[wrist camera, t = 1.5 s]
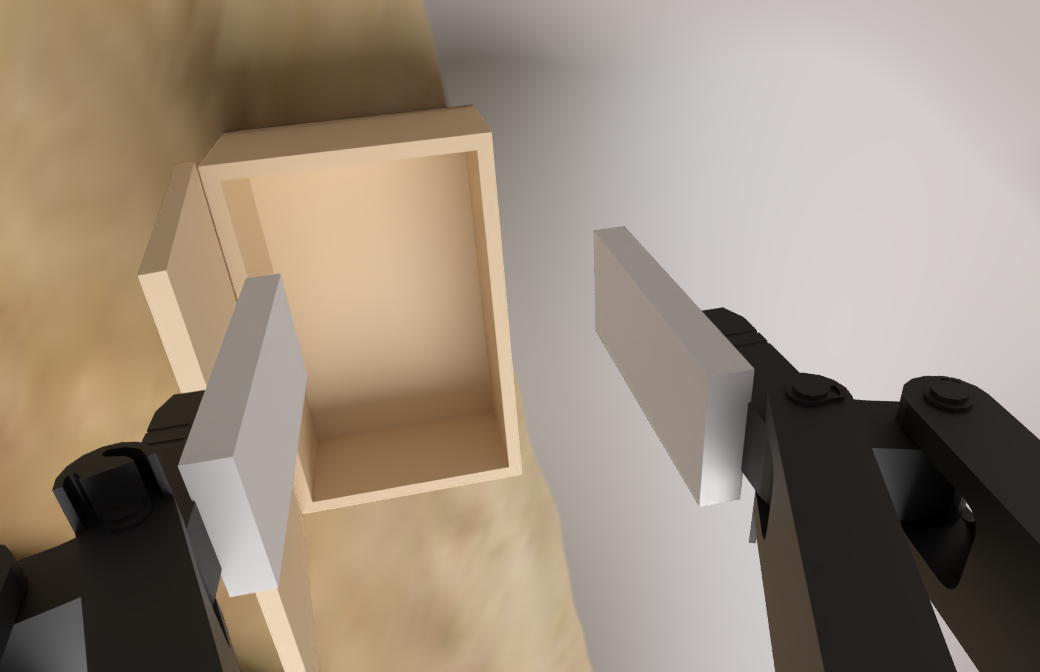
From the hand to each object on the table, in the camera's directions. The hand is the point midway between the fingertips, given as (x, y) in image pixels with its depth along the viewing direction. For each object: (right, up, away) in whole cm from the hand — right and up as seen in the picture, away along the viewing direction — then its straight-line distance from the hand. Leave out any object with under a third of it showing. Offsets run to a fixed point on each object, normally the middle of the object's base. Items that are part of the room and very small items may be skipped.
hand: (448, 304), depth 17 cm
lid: (-10, -6, +16) cm, 20 cm away
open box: (-7, +2, +29) cm, 30 cm away
